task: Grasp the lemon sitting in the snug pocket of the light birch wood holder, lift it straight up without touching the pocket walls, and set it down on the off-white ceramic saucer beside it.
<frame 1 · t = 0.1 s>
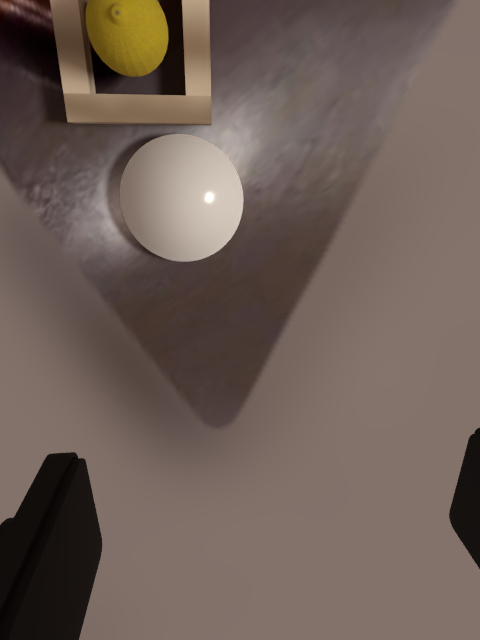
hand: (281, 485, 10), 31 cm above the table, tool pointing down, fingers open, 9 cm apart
lemon: (138, 45, 32), resting in holder
saucer: (182, 200, 37), on the table
holder: (137, 44, 32), on the table
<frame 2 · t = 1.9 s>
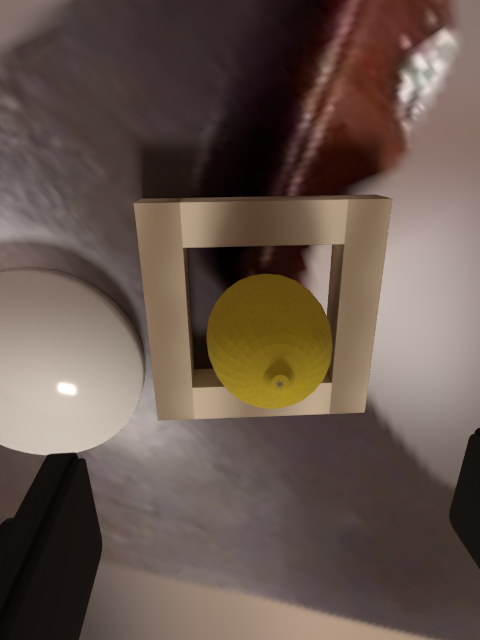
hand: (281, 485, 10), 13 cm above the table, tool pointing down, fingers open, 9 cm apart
lemon: (259, 305, 22), resting in holder
saucer: (46, 362, 22), on the table
holder: (259, 306, 22), on the table
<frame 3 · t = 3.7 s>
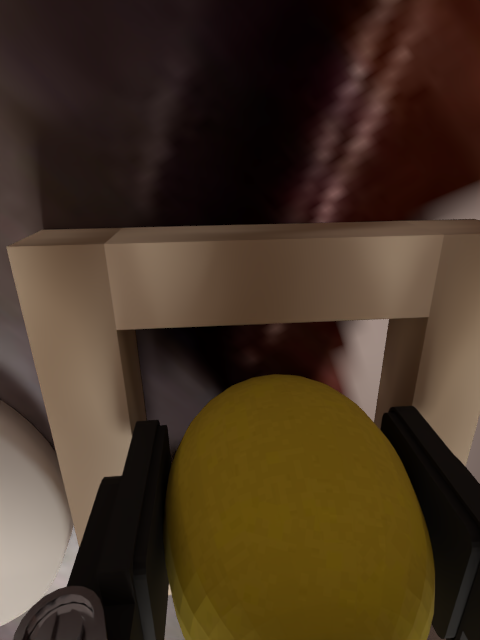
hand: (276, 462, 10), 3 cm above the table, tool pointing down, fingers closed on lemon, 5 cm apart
lemon: (262, 401, 13), resting in holder, touching gripper
holder: (263, 405, 13), on the table
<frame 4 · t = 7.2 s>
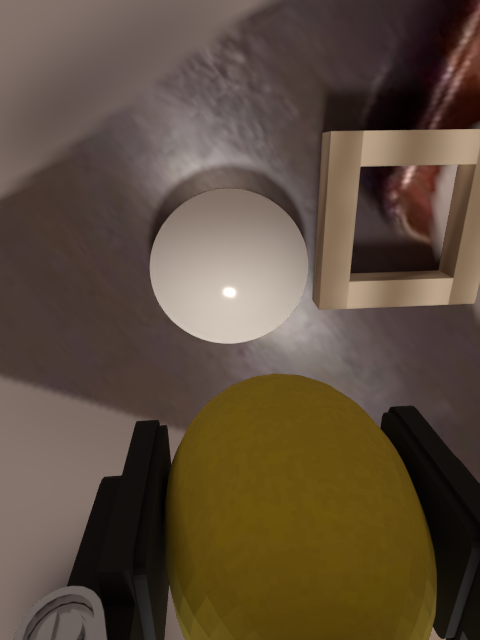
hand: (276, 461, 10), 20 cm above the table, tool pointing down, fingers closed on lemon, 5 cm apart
lemon: (263, 401, 13), point 17 cm above the table, touching gripper
saucer: (229, 267, 29), on the table
holder: (396, 221, 28), on the table
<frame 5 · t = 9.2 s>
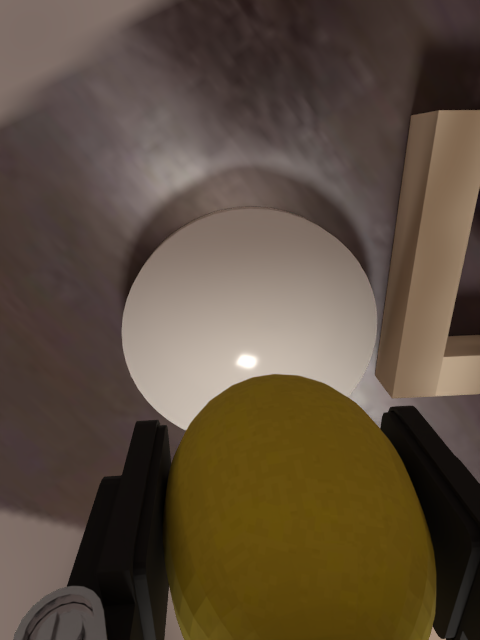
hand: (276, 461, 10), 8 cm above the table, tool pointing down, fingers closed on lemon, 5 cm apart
lemon: (262, 401, 13), point 6 cm above the table, touching gripper
saucer: (249, 329, 18), on the table
when the fingers open (5 cm above the table, at t = 10.9 s): lemon stays where it is, resting on saucer.
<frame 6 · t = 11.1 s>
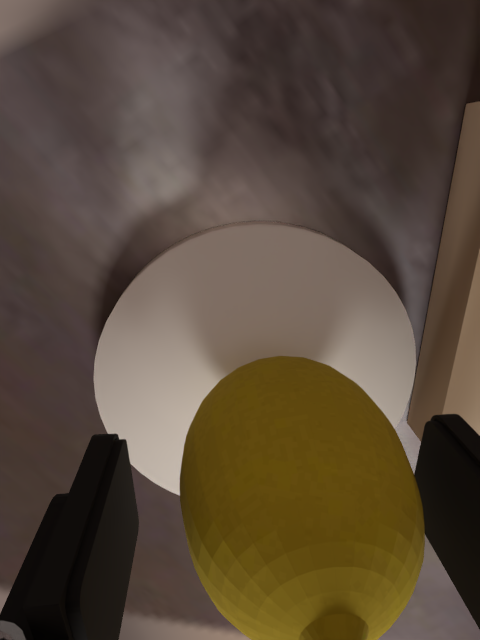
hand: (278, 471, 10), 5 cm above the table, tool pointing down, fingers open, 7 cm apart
lemon: (267, 385, 14), point 1 cm above the table, touching saucer
saucer: (255, 371, 15), on the table
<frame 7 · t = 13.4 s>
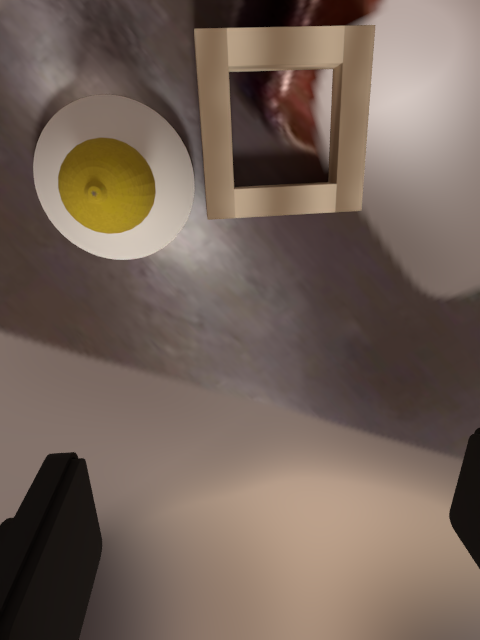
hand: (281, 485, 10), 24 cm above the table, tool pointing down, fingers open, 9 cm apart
lemon: (121, 182, 28), point 1 cm above the table, touching saucer
saucer: (119, 182, 29), on the table
holder: (280, 130, 29), on the table
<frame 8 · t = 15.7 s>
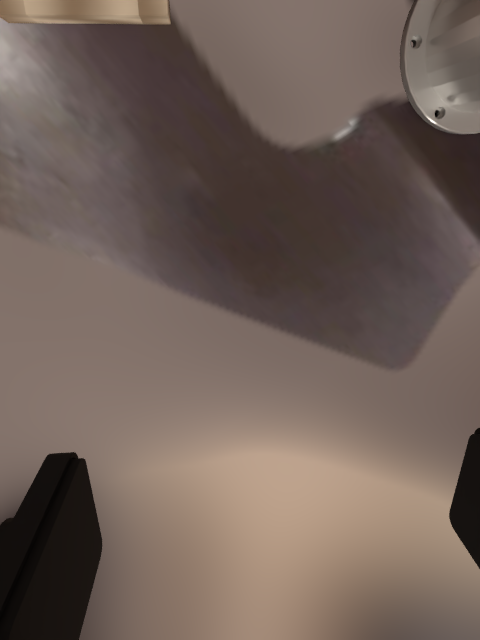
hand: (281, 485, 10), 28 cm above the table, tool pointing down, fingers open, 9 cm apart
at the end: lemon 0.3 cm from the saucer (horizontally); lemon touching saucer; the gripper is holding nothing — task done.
